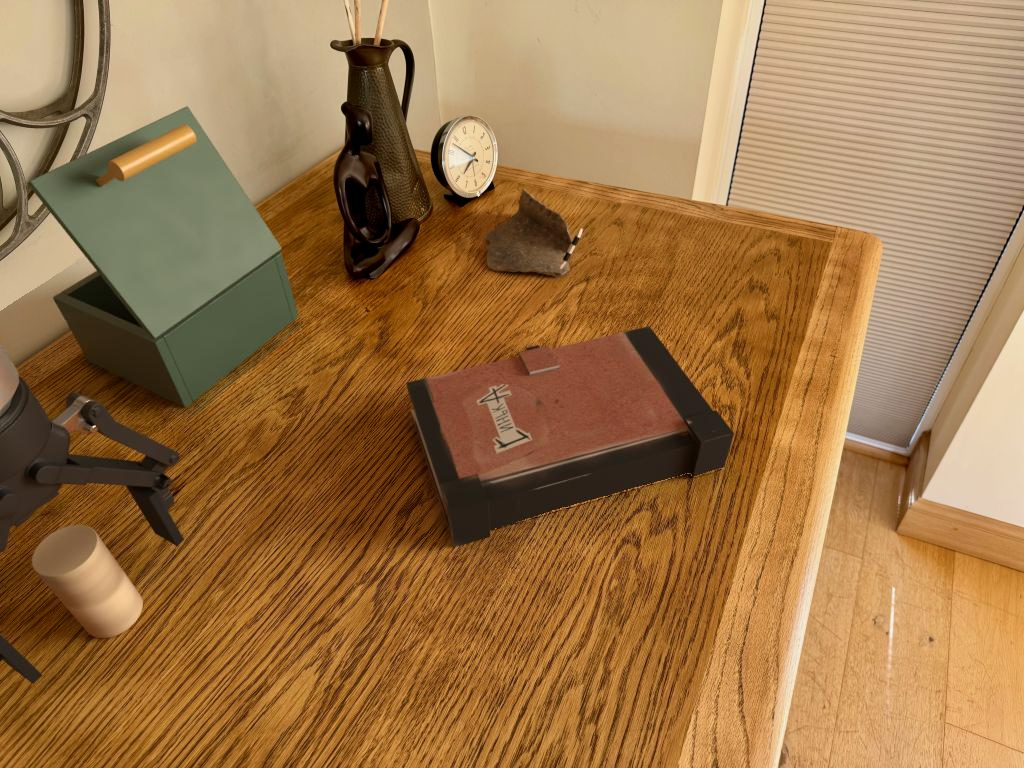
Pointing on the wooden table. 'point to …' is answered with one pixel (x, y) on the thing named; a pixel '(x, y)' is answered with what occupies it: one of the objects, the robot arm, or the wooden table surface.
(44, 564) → the peg
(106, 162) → the lid
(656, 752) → the wooden table surface
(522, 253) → the pottery fragment
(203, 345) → the chest
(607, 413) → the red and black box
